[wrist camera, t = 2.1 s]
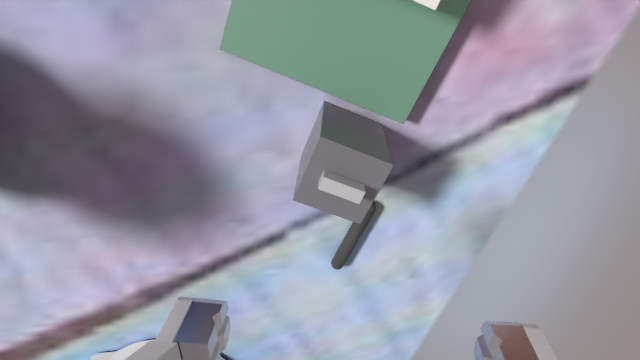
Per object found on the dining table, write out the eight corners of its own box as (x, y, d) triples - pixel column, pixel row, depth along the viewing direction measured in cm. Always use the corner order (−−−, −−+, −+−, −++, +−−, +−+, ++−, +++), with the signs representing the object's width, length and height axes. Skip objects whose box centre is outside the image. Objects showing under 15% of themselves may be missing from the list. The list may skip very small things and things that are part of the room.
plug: (356, 174, 26) (361, 232, 21) (301, 154, 26) (291, 207, 20) (382, 124, 24) (396, 172, 19) (324, 100, 24) (319, 143, 18)
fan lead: (340, 265, 31) (340, 273, 30) (329, 261, 31) (329, 269, 30) (377, 200, 27) (378, 208, 27) (365, 196, 27) (366, 203, 26)
